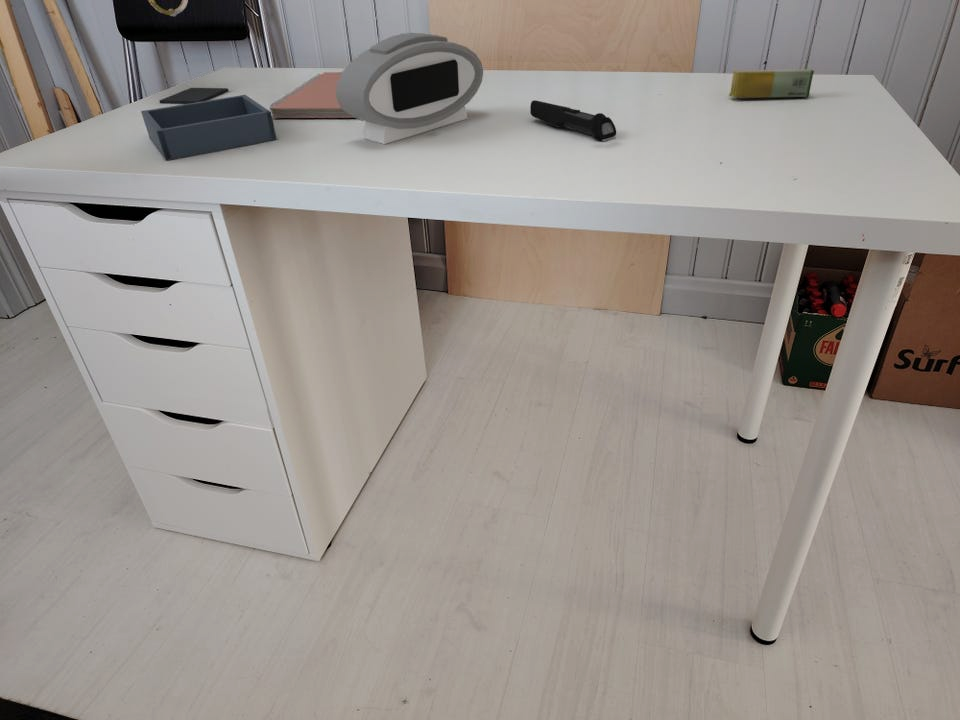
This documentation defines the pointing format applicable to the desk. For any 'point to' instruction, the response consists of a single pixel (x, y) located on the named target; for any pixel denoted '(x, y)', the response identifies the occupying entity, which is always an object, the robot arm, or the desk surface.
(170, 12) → the ring
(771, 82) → the medication box
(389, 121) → the alarm clock
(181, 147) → the dark blue tray
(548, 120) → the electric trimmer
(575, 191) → the desk surface
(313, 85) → the notebook
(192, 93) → the mat
